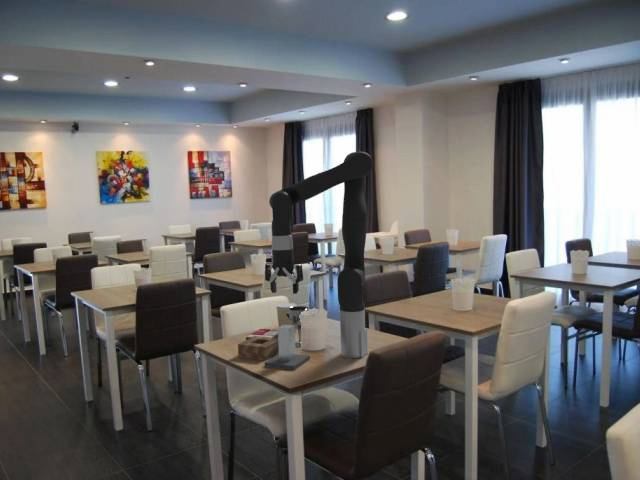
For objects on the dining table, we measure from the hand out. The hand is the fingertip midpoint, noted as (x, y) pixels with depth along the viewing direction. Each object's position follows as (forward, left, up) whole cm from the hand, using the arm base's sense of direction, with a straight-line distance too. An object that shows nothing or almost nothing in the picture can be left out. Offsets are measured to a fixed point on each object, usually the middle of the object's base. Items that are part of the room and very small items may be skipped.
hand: (284, 293), depth 191 cm
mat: (0, 0, -26) cm, 26 cm away
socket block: (+15, -6, -26) cm, 30 cm away
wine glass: (+6, -22, -26) cm, 35 cm away
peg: (0, 0, -24) cm, 24 cm away
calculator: (+22, -22, -26) cm, 41 cm away
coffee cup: (+20, -38, -26) cm, 50 cm away
